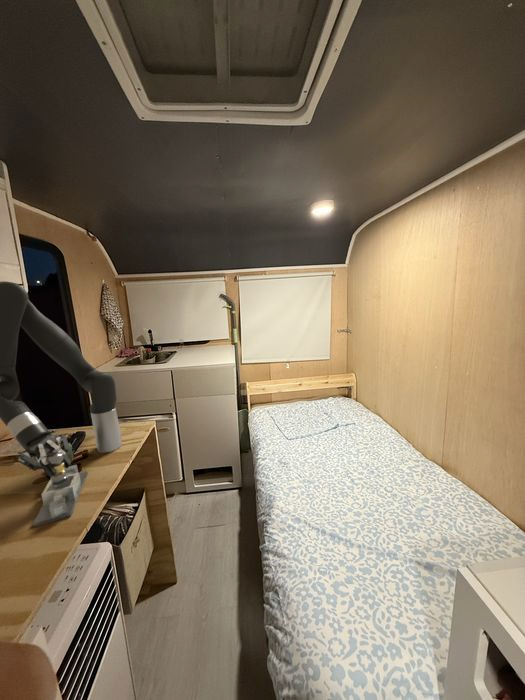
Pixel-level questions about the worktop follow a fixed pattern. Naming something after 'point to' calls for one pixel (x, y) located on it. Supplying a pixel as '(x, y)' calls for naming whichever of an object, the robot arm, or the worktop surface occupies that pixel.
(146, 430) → the worktop surface
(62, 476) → the grey cylinder with band
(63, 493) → the base
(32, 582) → the worktop surface
